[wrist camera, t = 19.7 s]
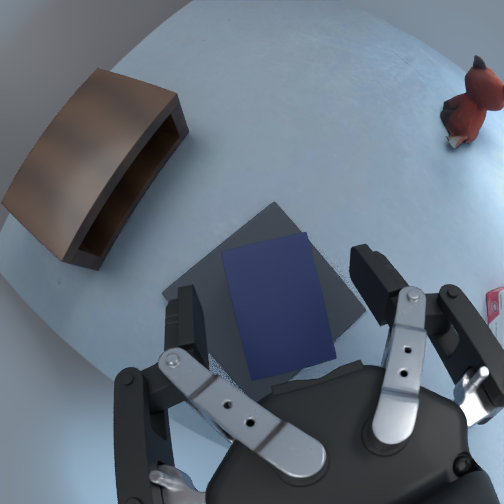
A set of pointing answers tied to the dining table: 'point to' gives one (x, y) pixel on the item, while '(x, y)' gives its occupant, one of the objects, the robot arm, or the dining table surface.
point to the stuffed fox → (472, 104)
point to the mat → (221, 309)
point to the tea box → (278, 306)
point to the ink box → (496, 313)
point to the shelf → (95, 165)
